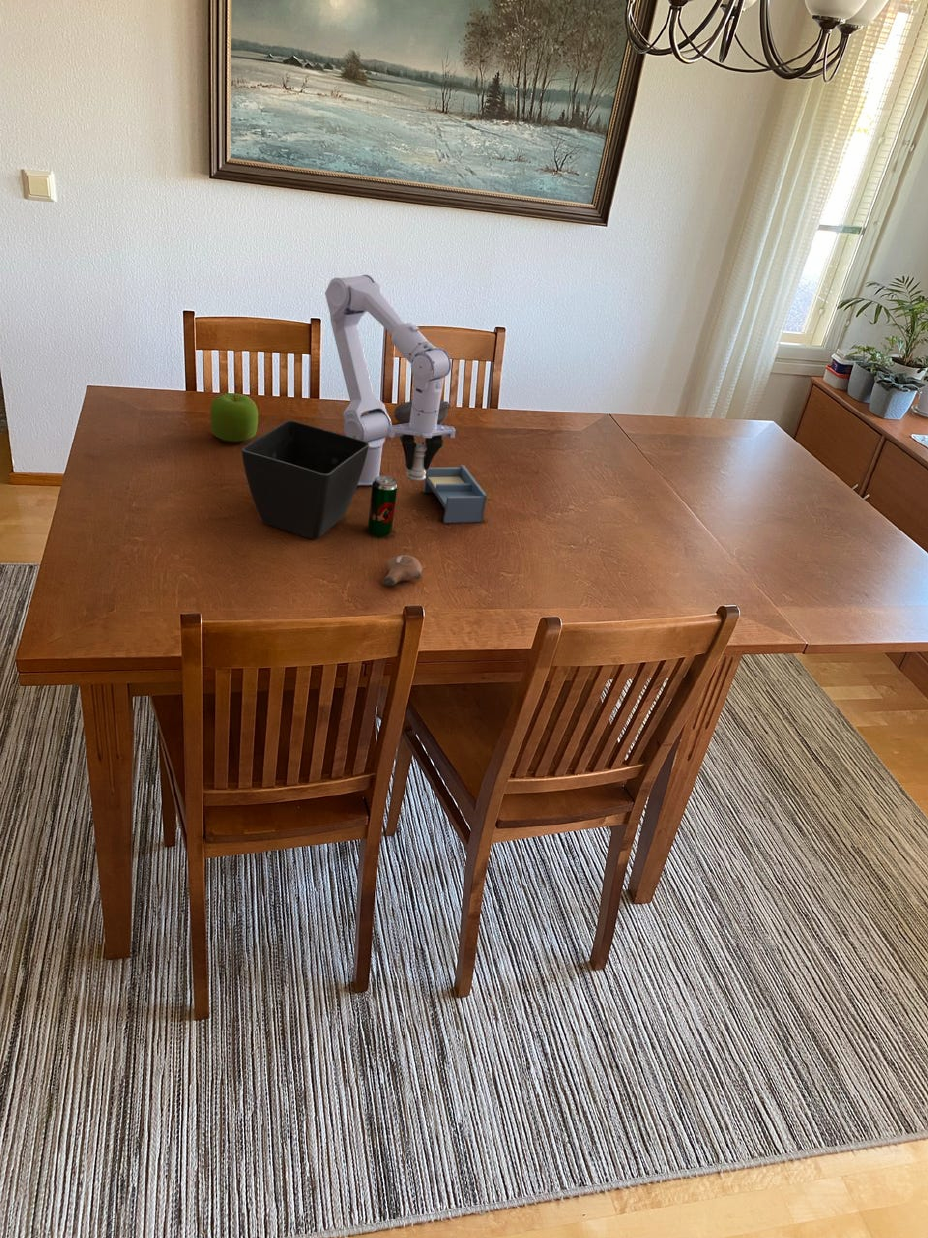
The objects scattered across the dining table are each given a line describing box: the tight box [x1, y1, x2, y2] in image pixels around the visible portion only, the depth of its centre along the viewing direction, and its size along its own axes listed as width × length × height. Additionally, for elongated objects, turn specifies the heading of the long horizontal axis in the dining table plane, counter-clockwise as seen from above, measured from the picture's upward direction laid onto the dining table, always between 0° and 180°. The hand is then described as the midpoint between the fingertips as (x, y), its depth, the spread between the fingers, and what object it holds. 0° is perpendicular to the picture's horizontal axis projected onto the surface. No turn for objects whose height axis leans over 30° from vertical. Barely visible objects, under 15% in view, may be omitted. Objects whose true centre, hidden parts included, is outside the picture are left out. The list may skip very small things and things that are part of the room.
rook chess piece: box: [405, 440, 427, 482], centre depth 192 cm, size 4×4×8 cm
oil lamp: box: [381, 554, 423, 587], centre depth 171 cm, size 9×4×8 cm
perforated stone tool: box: [393, 400, 451, 426], centre depth 236 cm, size 15×5×7 cm, turn 101°
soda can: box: [367, 475, 398, 538], centre depth 182 cm, size 5×5×12 cm
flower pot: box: [241, 420, 369, 540], centre depth 180 cm, size 19×19×17 cm
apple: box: [209, 392, 259, 444], centre depth 210 cm, size 11×11×11 cm
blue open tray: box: [423, 464, 488, 524], centre depth 199 cm, size 9×15×6 cm, turn 20°
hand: (416, 467), depth 193 cm, fingers closed on rook chess piece, 3 cm apart
